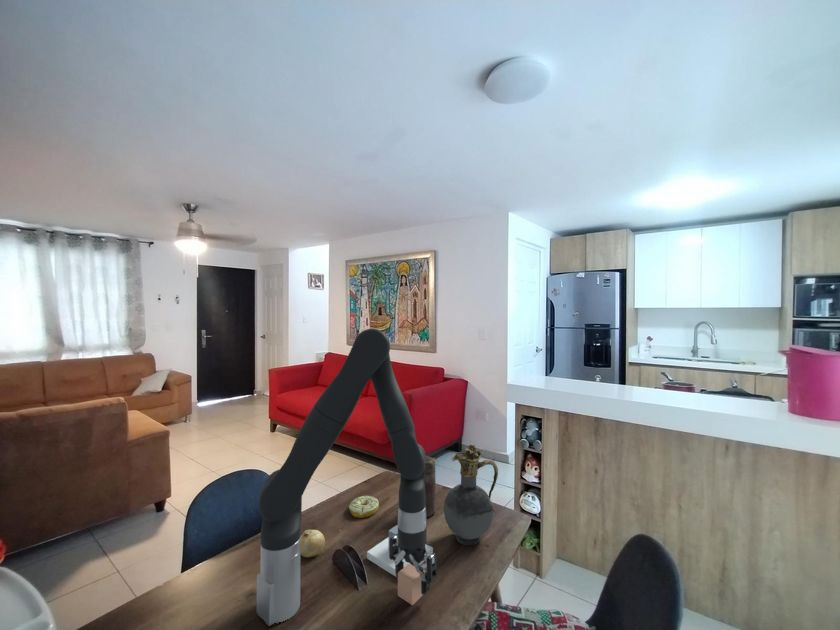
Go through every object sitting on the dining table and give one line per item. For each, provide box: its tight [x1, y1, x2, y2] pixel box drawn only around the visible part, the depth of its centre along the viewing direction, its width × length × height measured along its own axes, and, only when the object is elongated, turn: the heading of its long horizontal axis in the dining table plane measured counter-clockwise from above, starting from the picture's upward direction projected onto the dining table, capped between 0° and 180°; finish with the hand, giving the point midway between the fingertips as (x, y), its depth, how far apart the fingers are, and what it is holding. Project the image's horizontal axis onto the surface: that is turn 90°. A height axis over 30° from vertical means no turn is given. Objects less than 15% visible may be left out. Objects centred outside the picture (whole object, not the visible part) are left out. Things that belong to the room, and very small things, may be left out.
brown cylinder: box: [425, 455, 437, 518], centre depth 133 cm, size 8×7×20 cm
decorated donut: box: [348, 495, 380, 519], centre depth 133 cm, size 10×11×4 cm
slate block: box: [388, 524, 401, 554], centre depth 109 cm, size 5×5×6 cm
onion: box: [300, 528, 326, 558], centre depth 110 cm, size 8×8×7 cm
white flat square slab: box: [366, 536, 434, 577], centre depth 109 cm, size 14×14×2 cm
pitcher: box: [443, 444, 499, 546], centre depth 118 cm, size 11×19×30 cm, turn 113°
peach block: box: [397, 563, 426, 606], centre depth 94 cm, size 5×5×6 cm
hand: (412, 584), depth 94 cm, fingers open, 8 cm apart
